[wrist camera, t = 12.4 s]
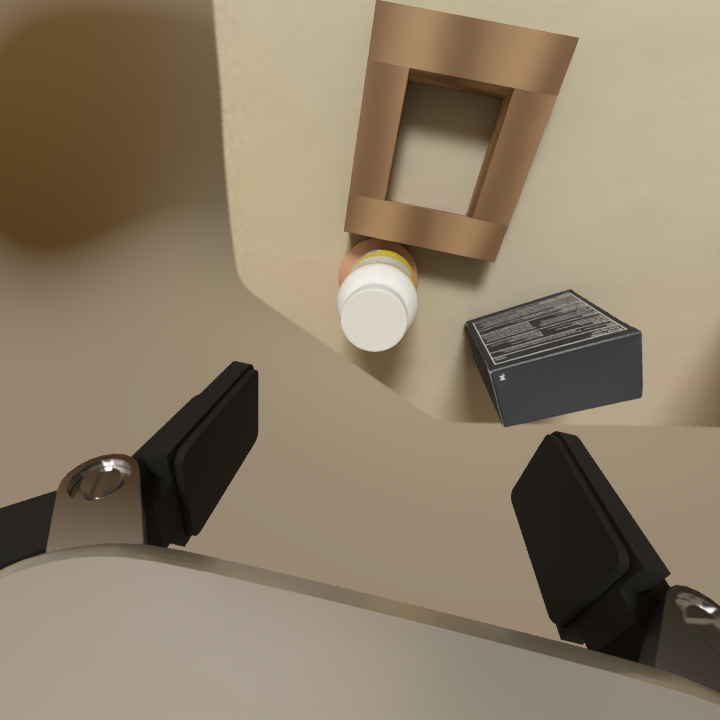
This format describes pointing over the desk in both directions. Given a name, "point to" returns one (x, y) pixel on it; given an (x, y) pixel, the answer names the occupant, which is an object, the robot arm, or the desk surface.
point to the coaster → (369, 246)
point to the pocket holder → (465, 73)
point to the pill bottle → (378, 300)
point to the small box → (555, 358)
